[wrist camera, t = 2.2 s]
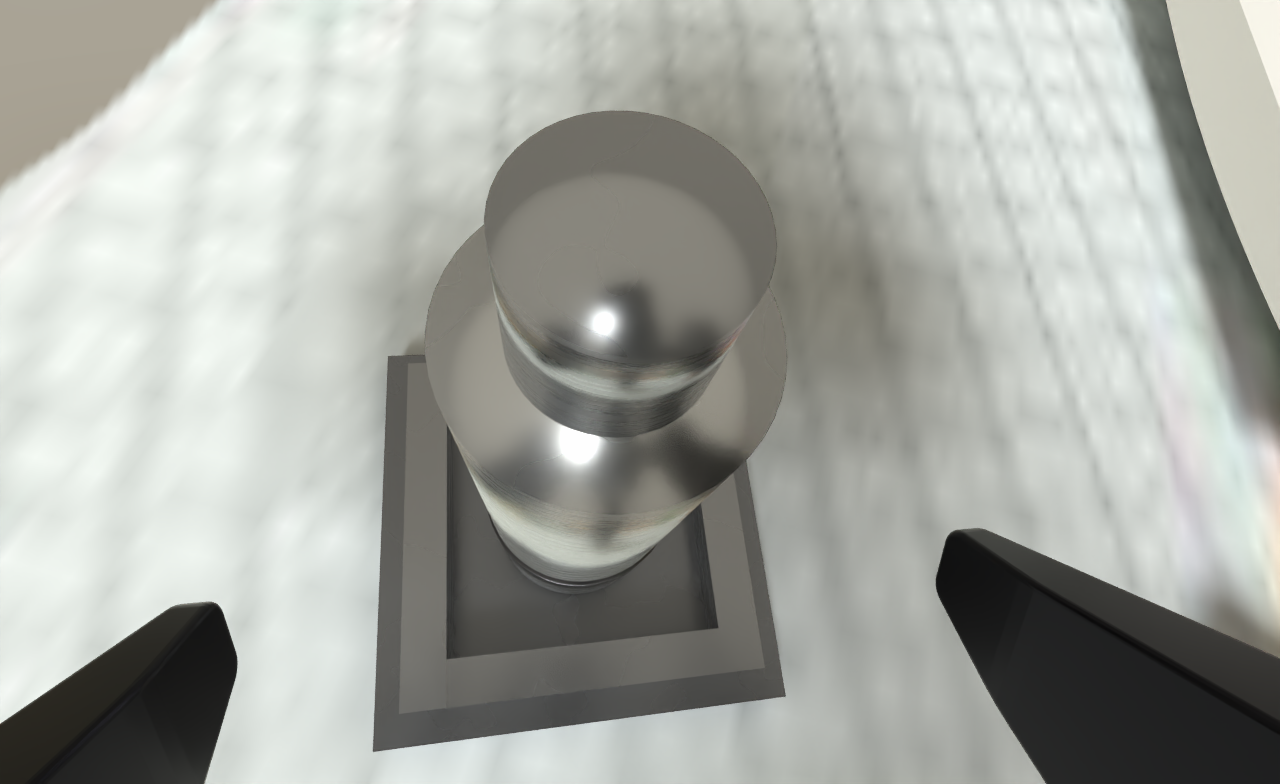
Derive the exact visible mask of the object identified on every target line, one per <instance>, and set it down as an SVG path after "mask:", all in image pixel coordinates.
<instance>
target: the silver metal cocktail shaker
mask: <svg viewBox="0 0 1280 784" xmlns="http://www.w3.org/2000/svg"><path fill="white" fill-rule="evenodd" d="M776 248H777V242H776V229H775V225H774V221H773V216H772V213H771V210H770V207H769V205H768V202H767V199H766V197H765V196H764V194H763V192H762V190H761V188H760V186H759V184H758V183H757V182H756V180H755V179H754V177H753V176H752V175H751V173H750V172H749V171H748V169H747V168H746V167H745V166H744V165H743V164H742V163H741V162H740V161H739V160H738V158H736V157H735V156H734V155H733V154H732V153H731V152H730V151H728V150H727V149H726V148H725V147H724V146H722V145H721V144H719V143H718V142H717V141H715V140H714V139H712V138H711V137H709V136H707V135H705V134H704V133H702V132H700V131H698V130H697V129H695V128H692V127H690V126H688V125H685V124H683V123H681V122H678V121H675V120H672V119H669V118H665V117H662V116H658V115H653V114H648V113H642V112H633V111H602V112H592V113H587V114H583V115H578V116H574V117H571V118H568V119H565V120H562V121H559V122H557V123H554V124H552V125H550V126H548V127H546V128H544V129H542V130H541V131H539V132H537V133H536V134H534V135H533V136H531V137H530V138H528V139H527V140H526V141H525V142H523V143H522V144H521V145H520V146H519V147H517V148H516V150H515V151H514V152H513V153H512V154H511V155H510V156H509V157H508V158H507V159H506V161H505V162H504V164H503V165H502V167H501V168H500V170H499V171H498V173H497V175H496V177H495V179H494V181H493V183H492V185H491V188H490V191H489V195H488V198H487V201H486V208H485V216H484V225H483V226H482V227H481V228H480V229H478V230H477V231H476V232H475V233H474V234H473V235H471V236H470V237H469V238H468V240H467V241H466V242H465V243H464V244H463V245H462V246H461V247H460V249H459V250H458V251H457V252H456V253H455V255H454V256H453V258H452V259H451V261H450V262H449V264H448V265H447V267H446V268H445V270H444V272H443V274H442V276H441V278H440V280H439V282H438V284H437V286H436V288H435V291H434V294H433V297H432V300H431V304H430V307H429V310H428V316H427V323H426V330H425V357H426V364H427V370H428V377H429V380H430V383H431V387H432V390H433V393H434V396H435V399H436V402H437V404H438V406H439V408H440V410H441V412H442V414H443V416H444V419H445V421H446V423H447V425H448V427H449V429H450V431H451V433H452V436H453V438H454V440H455V442H456V444H457V446H458V448H459V451H460V453H461V455H462V457H463V459H464V461H465V463H466V465H467V468H468V470H469V472H470V474H471V476H472V478H473V480H474V482H475V485H476V487H477V489H478V491H479V493H480V495H481V497H482V499H483V502H484V504H485V506H486V508H487V510H488V515H489V518H490V521H491V524H492V527H493V529H494V531H495V533H496V535H497V537H498V539H499V541H500V543H501V545H502V547H503V548H504V550H505V551H506V553H507V554H508V555H509V557H510V558H511V560H512V561H513V563H514V564H515V566H516V567H517V568H518V569H519V570H520V572H521V573H522V574H524V575H525V576H526V577H527V578H528V579H529V580H531V581H532V582H534V583H536V584H537V585H539V586H541V587H543V588H545V589H548V590H551V591H554V592H558V593H564V594H582V593H589V592H593V591H597V590H599V589H602V588H604V587H607V586H608V585H610V584H612V583H614V582H615V581H617V580H618V579H619V578H620V577H622V576H624V575H625V574H627V573H628V572H630V571H631V570H632V569H633V568H635V567H636V566H637V565H638V564H639V563H640V562H642V561H643V560H644V559H645V558H646V557H647V556H648V555H649V554H650V553H651V552H652V550H653V549H654V548H655V546H656V545H657V544H658V543H659V542H660V541H661V540H662V539H663V538H664V537H665V536H666V535H667V534H668V533H669V532H670V531H671V530H672V529H673V528H675V527H676V526H677V525H678V524H679V523H680V522H681V521H682V520H683V519H684V518H685V517H686V516H687V515H688V514H690V513H691V512H692V511H693V510H694V509H695V508H696V507H697V506H698V505H699V504H700V503H701V502H702V501H703V500H705V499H706V498H707V497H708V496H709V495H710V494H711V493H712V492H713V491H714V490H715V489H716V488H717V487H718V486H720V485H721V484H722V483H723V482H724V481H725V480H726V479H727V478H728V477H729V476H730V475H731V474H732V473H733V472H734V471H735V470H736V469H737V468H738V467H739V466H740V465H741V464H742V463H743V462H744V461H745V460H746V459H747V458H748V457H749V456H750V455H751V454H752V453H753V451H754V450H755V449H756V447H757V446H758V445H759V443H760V442H761V441H762V439H763V438H764V436H765V435H766V433H767V431H768V429H769V427H770V425H771V423H772V422H773V420H774V418H775V415H776V412H777V409H778V407H779V404H780V401H781V398H782V394H783V389H784V384H785V379H786V366H787V349H786V337H785V332H784V327H783V323H782V318H781V315H780V312H779V309H778V306H777V304H776V301H775V298H774V296H773V294H772V292H771V290H770V288H769V286H768V285H769V282H770V280H771V277H772V274H773V270H774V265H775V261H776Z"/></svg>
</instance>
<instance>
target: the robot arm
mask: <svg viewBox="0 0 1280 784" xmlns="http://www.w3.org/2000/svg"><path fill="white" fill-rule="evenodd" d="M936 589H937V593H938V596H939V598H940V600H941V602H942V604H943V606H944V608H945V610H946V612H947V614H948V616H949V618H950V620H951V621H952V623H953V625H954V627H955V629H956V631H957V633H958V635H959V637H960V639H961V641H962V643H963V644H964V646H965V648H966V650H967V652H968V654H969V656H970V658H971V660H972V662H973V664H974V665H975V667H976V669H977V671H978V673H979V675H980V677H981V679H982V681H983V683H984V685H985V686H986V688H987V690H988V692H989V694H990V695H991V697H992V699H993V701H994V702H995V704H996V706H997V707H998V709H999V711H1000V712H1001V714H1002V716H1003V717H1004V719H1005V720H1006V722H1007V724H1008V725H1009V727H1010V728H1011V730H1012V731H1013V733H1014V734H1015V736H1016V738H1017V739H1018V741H1019V742H1020V744H1021V745H1022V747H1023V748H1024V750H1025V752H1026V753H1027V755H1028V756H1029V758H1030V759H1031V761H1032V762H1033V764H1034V765H1035V767H1036V769H1037V770H1038V772H1039V773H1040V775H1041V776H1042V778H1043V779H1044V781H1045V783H1046V784H1280V658H1278V657H1275V656H1273V655H1271V654H1269V653H1266V652H1264V651H1262V650H1259V649H1257V648H1255V647H1253V646H1250V645H1248V644H1246V643H1243V642H1241V641H1239V640H1237V639H1234V638H1232V637H1230V636H1227V635H1225V634H1223V633H1221V632H1218V631H1216V630H1214V629H1211V628H1209V627H1207V626H1205V625H1202V624H1200V623H1198V622H1195V621H1193V620H1191V619H1189V618H1186V617H1184V616H1182V615H1179V614H1177V613H1175V612H1173V611H1170V610H1168V609H1166V608H1164V607H1161V606H1159V605H1157V604H1154V603H1152V602H1150V601H1148V600H1145V599H1143V598H1141V597H1138V596H1136V595H1134V594H1132V593H1129V592H1127V591H1125V590H1122V589H1120V588H1118V587H1116V586H1113V585H1111V584H1109V583H1106V582H1104V581H1102V580H1100V579H1097V578H1095V577H1093V576H1090V575H1088V574H1086V573H1084V572H1081V571H1079V570H1077V569H1074V568H1072V567H1070V566H1068V565H1065V564H1063V563H1061V562H1058V561H1056V560H1054V559H1052V558H1049V557H1047V556H1045V555H1043V554H1040V553H1038V552H1036V551H1033V550H1031V549H1029V548H1027V547H1024V546H1022V545H1020V544H1017V543H1015V542H1013V541H1011V540H1008V539H1006V538H1004V537H1001V536H999V535H997V534H995V533H992V532H990V531H988V530H985V529H981V528H972V529H962V530H955V531H953V532H951V533H950V534H949V535H948V537H947V539H946V541H945V545H944V549H943V553H942V557H941V560H940V564H939V568H938V572H937V575H936ZM236 674H237V655H236V651H235V648H234V645H233V642H232V639H231V636H230V632H229V629H228V626H227V623H226V620H225V617H224V614H223V612H222V609H221V608H220V606H219V605H218V604H216V603H214V602H199V603H188V604H180V605H175V606H173V607H171V608H169V609H167V610H166V611H164V612H163V613H161V614H160V615H159V616H157V617H156V618H154V619H153V620H151V621H150V622H148V623H147V624H145V625H144V626H142V627H141V628H140V629H138V630H137V631H135V632H134V633H132V634H131V635H129V636H128V637H126V638H125V639H123V640H122V641H121V642H119V643H118V644H116V645H115V646H113V647H112V648H110V649H109V650H107V651H106V652H104V653H103V654H102V655H100V656H99V657H97V658H96V659H94V660H93V661H91V662H90V663H88V664H87V665H85V666H84V667H83V668H81V669H80V670H78V671H77V672H75V673H74V674H72V675H71V676H69V677H68V678H66V679H65V680H64V681H62V682H61V683H59V684H58V685H56V686H55V687H53V688H52V689H50V690H49V691H47V692H46V693H45V694H43V695H42V696H40V697H39V698H37V699H36V700H34V701H33V702H31V703H30V704H28V705H27V706H26V707H24V708H23V709H21V710H20V711H18V712H17V713H15V714H14V715H12V716H11V717H9V718H8V719H7V720H5V721H4V722H2V723H1V724H0V784H205V780H206V777H207V774H208V770H209V767H210V763H211V760H212V757H213V753H214V750H215V746H216V743H217V740H218V736H219V733H220V729H221V726H222V723H223V719H224V716H225V712H226V709H227V706H228V702H229V699H230V695H231V692H232V689H233V685H234V682H235V678H236Z"/></svg>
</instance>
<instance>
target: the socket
mask: <svg viewBox="0 0 1280 784" xmlns="http://www.w3.org/2000/svg"><path fill="white" fill-rule="evenodd" d="M785 696H786V695H785V689H784V683H783V677H782V672H781V666H780V660H779V654H778V648H777V642H776V636H775V630H774V624H773V618H772V613H771V607H770V601H769V595H768V589H767V583H766V577H765V571H764V565H763V559H762V554H761V548H760V542H759V536H758V530H757V524H756V518H755V512H754V506H753V500H752V495H751V489H750V483H749V477H748V471H747V465H746V460H745V461H744V462H743V463H742V464H741V465H740V466H739V467H738V468H737V469H736V470H735V471H734V472H733V473H732V474H731V475H730V476H729V477H728V478H727V479H726V480H725V481H724V482H723V483H722V484H721V485H720V486H718V487H717V488H716V489H715V490H714V491H713V492H712V493H711V494H710V495H709V496H708V497H707V498H706V499H705V500H703V501H702V502H701V503H700V504H699V505H698V506H697V507H696V508H695V509H694V510H693V511H692V512H691V513H690V514H688V515H687V516H686V517H685V518H684V519H683V520H682V521H681V522H680V523H679V524H678V525H677V526H676V527H675V528H673V529H672V530H671V531H670V532H669V533H668V534H667V535H666V536H665V537H664V538H663V539H662V540H661V541H660V542H659V543H658V544H657V545H656V546H655V548H654V549H653V550H652V552H651V553H650V554H649V555H648V556H647V557H646V558H645V559H644V560H643V561H642V562H640V563H639V564H638V565H637V566H636V567H635V568H633V569H632V570H631V571H630V572H628V573H627V574H625V575H624V576H622V577H620V578H619V579H618V580H617V581H615V582H614V583H612V584H610V585H608V586H607V587H604V588H602V589H599V590H597V591H593V592H589V593H582V594H564V593H558V592H554V591H551V590H548V589H545V588H543V587H541V586H539V585H537V584H536V583H534V582H532V581H531V580H529V579H528V578H527V577H526V576H525V575H524V574H522V573H521V572H520V570H519V569H518V568H517V567H516V566H515V564H514V563H513V561H512V560H511V558H510V557H509V555H508V554H507V553H506V551H505V550H504V548H503V547H502V545H501V543H500V541H499V539H498V537H497V535H496V533H495V531H494V529H493V527H492V524H491V521H490V518H489V515H488V510H487V508H486V506H485V504H484V502H483V499H482V497H481V495H480V493H479V491H478V489H477V487H476V485H475V482H474V480H473V478H472V476H471V474H470V472H469V470H468V468H467V465H466V463H465V461H464V459H463V457H462V455H461V453H460V451H459V448H458V446H457V444H456V442H455V440H454V438H453V436H452V433H451V431H450V429H449V427H448V425H447V423H446V421H445V419H444V416H443V414H442V412H441V410H440V408H439V406H438V404H437V402H436V399H435V396H434V393H433V390H432V387H431V383H430V380H429V377H428V370H427V364H426V357H425V355H407V356H388V373H387V399H386V425H385V451H384V477H383V503H382V530H381V556H380V582H379V608H378V634H377V660H376V686H375V713H374V739H373V752H375V751H382V750H390V749H397V748H405V747H412V746H420V745H427V744H435V743H442V742H450V741H457V740H464V739H472V738H479V737H487V736H494V735H502V734H509V733H517V732H524V731H532V730H539V729H546V728H554V727H561V726H569V725H576V724H584V723H591V722H599V721H606V720H613V719H621V718H628V717H636V716H643V715H651V714H658V713H666V712H673V711H681V710H688V709H695V708H703V707H710V706H718V705H725V704H733V703H740V702H748V701H755V700H762V699H770V698H777V697H785Z"/></svg>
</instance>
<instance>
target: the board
mask: <svg viewBox="0 0 1280 784" xmlns="http://www.w3.org/2000/svg"><path fill="white" fill-rule="evenodd" d="M1166 3H1167V7H1168V12H1169V17H1170V21H1171V25H1172V30H1173V34H1174V38H1175V42H1176V46H1177V50H1178V54H1179V58H1180V62H1181V66H1182V70H1183V73H1184V77H1185V81H1186V84H1187V88H1188V91H1189V95H1190V98H1191V102H1192V105H1193V108H1194V112H1195V115H1196V118H1197V121H1198V124H1199V128H1200V131H1201V134H1202V137H1203V140H1204V143H1205V146H1206V149H1207V152H1208V155H1209V158H1210V161H1211V164H1212V167H1213V169H1214V172H1215V175H1216V178H1217V181H1218V183H1219V186H1220V189H1221V192H1222V194H1223V197H1224V200H1225V202H1226V205H1227V207H1228V210H1229V213H1230V215H1231V218H1232V220H1233V223H1234V225H1235V228H1236V231H1237V233H1238V236H1239V238H1240V241H1241V243H1242V245H1243V248H1244V250H1245V253H1246V255H1247V257H1248V260H1249V262H1250V265H1251V267H1252V269H1253V271H1254V274H1255V276H1256V278H1257V281H1258V283H1259V285H1260V288H1261V290H1262V292H1263V294H1264V297H1265V299H1266V301H1267V303H1268V306H1269V308H1270V310H1271V312H1272V314H1273V316H1274V319H1275V321H1276V323H1277V325H1278V327H1279V330H1280V0H1166Z"/></svg>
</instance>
